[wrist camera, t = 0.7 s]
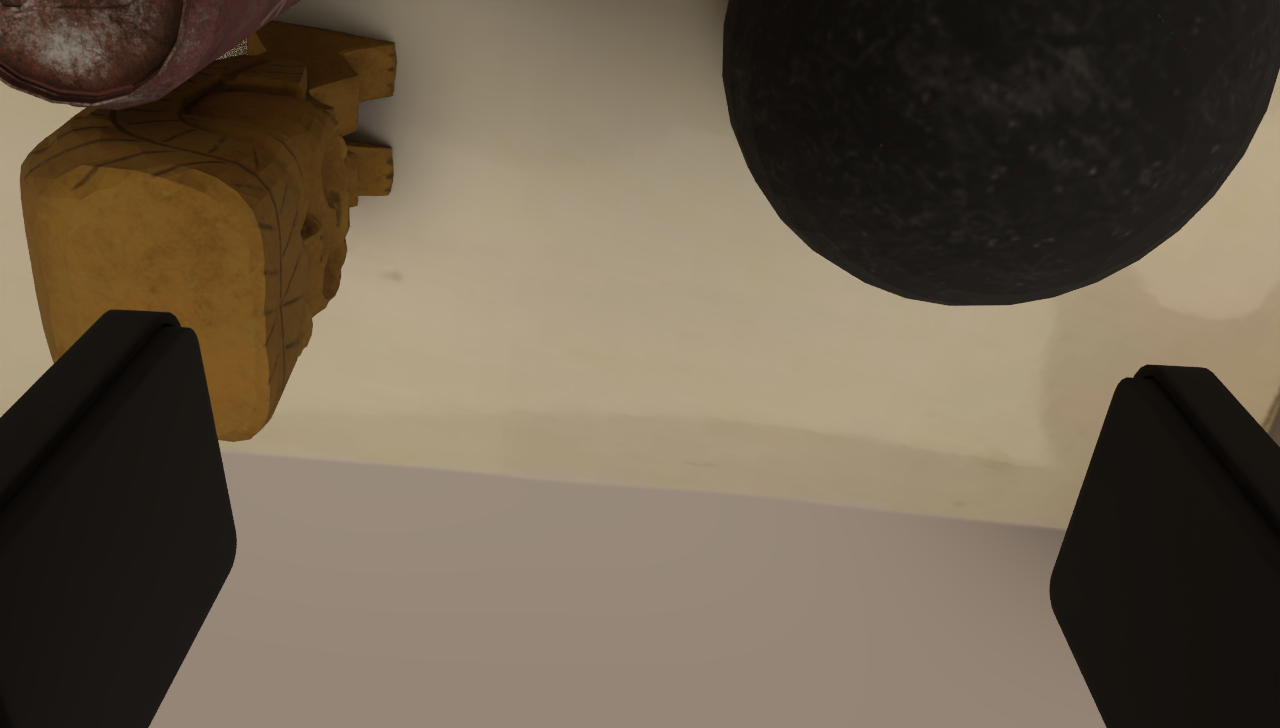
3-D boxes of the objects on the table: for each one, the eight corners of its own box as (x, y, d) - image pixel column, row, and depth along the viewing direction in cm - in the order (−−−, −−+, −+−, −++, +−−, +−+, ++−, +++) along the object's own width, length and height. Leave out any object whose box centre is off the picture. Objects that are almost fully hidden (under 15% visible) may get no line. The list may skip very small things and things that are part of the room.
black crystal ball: (634, -105, 32) (619, -6, 19) (1047, -356, 28) (1368, -440, 16) (809, 236, 38) (886, 488, 25) (1169, 62, 34) (1474, 251, 21)
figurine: (403, 214, 38) (271, 455, 25) (221, 187, 37) (-8, 419, 24) (409, 20, 34) (260, 185, 21) (209, -12, 34) (-68, 137, 21)
